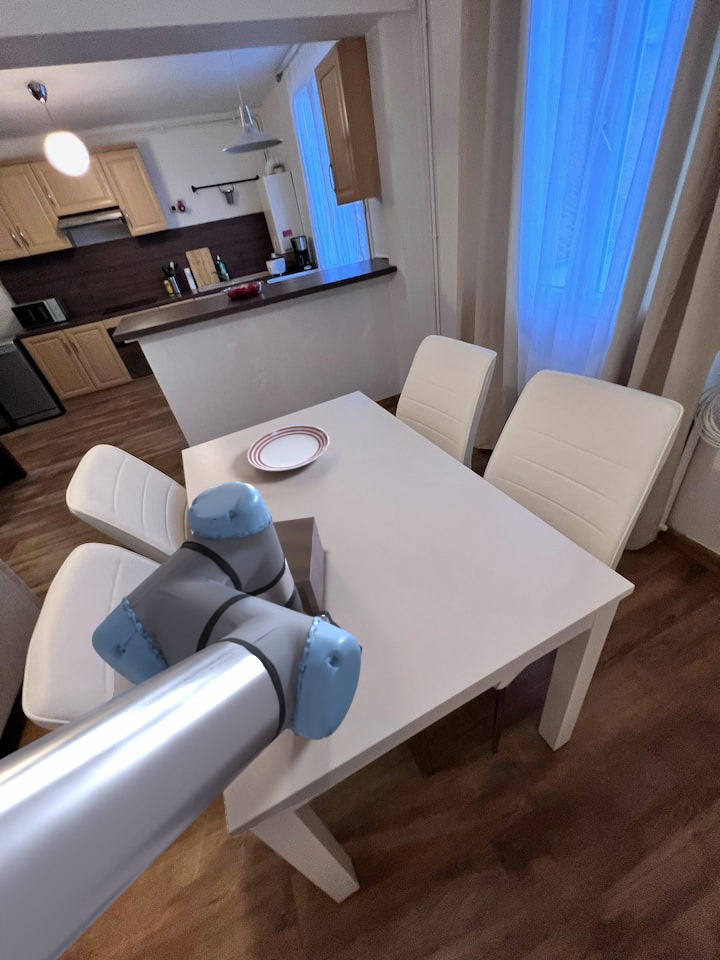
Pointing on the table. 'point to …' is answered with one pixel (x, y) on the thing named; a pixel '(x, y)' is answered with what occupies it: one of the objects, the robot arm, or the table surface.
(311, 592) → the wooden cubby box
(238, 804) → the table surface
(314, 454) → the dinner plate
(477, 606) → the table surface
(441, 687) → the table surface
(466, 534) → the table surface
